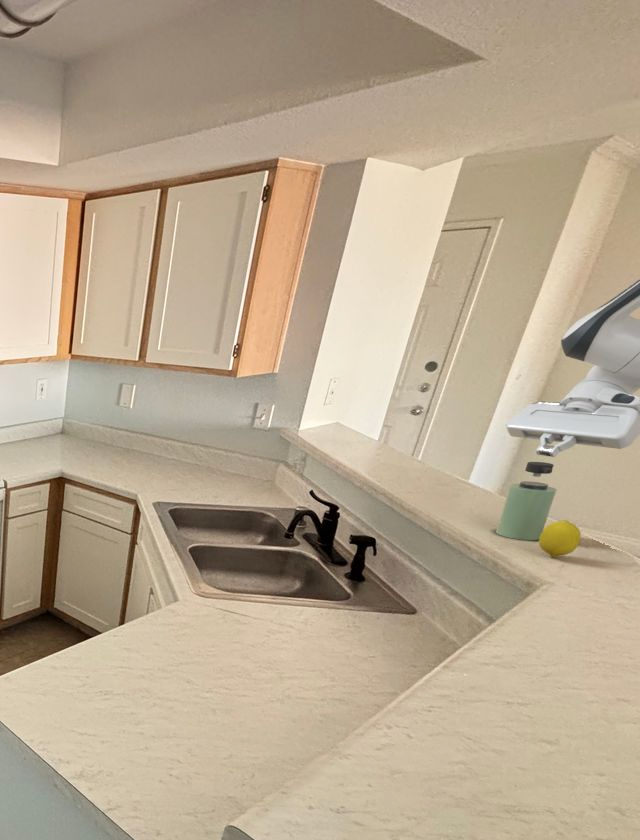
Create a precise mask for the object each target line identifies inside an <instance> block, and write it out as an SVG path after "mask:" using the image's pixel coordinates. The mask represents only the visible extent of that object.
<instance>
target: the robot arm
mask: <svg viewBox="0 0 640 840" xmlns="http://www.w3.org/2000/svg"><path fill="white" fill-rule="evenodd" d="M639 308H640V278H639V279H638V280H636V281H635V282H634V283H632V284H631V285H629V286H628V287H627V288H625V289H623V290H622V291H621V292H619V293H618V294H617V295H615V296H614V297H613V298H611V299H610V300H609V301H607V302H605V303H604V304H602V305H601V306H600V307H598V308H597V309H595V310H593V311H592V312H589V313H588V314H587V315H585V316H583V317H581V318H580V319H578V320H577V321H576V322H574V323H573V324H572V325H571V326H570V327H569V328H568V330H567V331H566V332H565V333H564V335H563V337H562V338H561V340H560V343H561V348H562V351H563V353H564V355H565V357H568V358H571V359H574V360H578V361H580V362H586V363H589V364H591V365H593V366H592V367H591V368H590V369H589V371H588V372H587V374H586V376H585V377H584V379H582V380H580V381H579V382H578V383H576V384H575V385H574V386H573V388H572V389H570V391H569V392H568V393H567V394H566V395H565V396H564V397H563V398H562V399H561V401H560V402H559V401H544V400H540V401H537V402H533V403H532V402H531V403H528V404H526V405H525V406H524V407H523V408H522V409H521V410H520V411H519V412H517V413H516V414H515V415H514V416H512V417H511V418H510V419H509V420H508V421H507V423H506V424H505V427H506V430H507V431H508V435H509V436H511V437H515V438H521V439H522V438H524V439H532V440H538V441H539V440H540V442H539V443H540V445H539V446H538V447H537V448H536V450H535V453H536V455H537V456H543V457H550V458H551V457H552V458H556V457H557V456H558V455H559V453H561V452H563V451H566V450H569V449H571V448H573V447H574V446H575V445H583V446H592V447H598V448H599V447H601V448H609V449H617V450H620V449H621V450H622V449H625V448H628V447H630V446H632V444H633V443H634V442H635V441H636V440H637V438H638V437H639V436H640V396H638V395H634V393H635V392H637V391H639V390H640V319H639V318H636V317H634V316H632V315H630V314H632V313H634V312H635V311H636V310H638V309H639ZM554 442H557V444H555V445H552V444H553V443H554Z"/></svg>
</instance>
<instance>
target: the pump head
mask: <svg viewBox="0 0 640 840" xmlns="http://www.w3.org/2000/svg"><path fill="white" fill-rule="evenodd" d="M553 468H554V464H553V463H550V462H545V461H544V462H543V461H528V462H527V463H526V466H525V470H524V471H525V472H527V473H531V474H532V477H536V478H538V477H539V478H541V476H542V475H543V474H544V475H548V474H552V472H553Z"/></svg>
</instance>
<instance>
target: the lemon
mask: <svg viewBox="0 0 640 840" xmlns="http://www.w3.org/2000/svg"><path fill="white" fill-rule="evenodd" d="M538 542H539V548H540V549H541V550H542V551H543V552H545V553H546V554H548V555H549V556H550V558H558V557H560V556H566V555H569V554H571V553H572V552H574V551H575V550H576V549H577V548H578V546H579V544H580V542H581V531H580V529H579V527H578V526H576V525H575V524H574V523H572V522H570V521H569V520H568V519H563V520H561V521H555V522H552V523H550V524H548V525H547V526H545V527H544V529H543V531H542V533H541V535H540V538H539V540H538Z"/></svg>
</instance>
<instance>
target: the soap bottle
mask: <svg viewBox="0 0 640 840" xmlns="http://www.w3.org/2000/svg"><path fill="white" fill-rule="evenodd" d="M556 493H557V489H556V488H554V487H553V486H549V484H548V483H544V482H538V481H529V480H526V481H525V480H524V481H520V482H519V483H518V482H516V483H511V484H510V485H509V488H508V491H507V494H506V498H505V501H504V504H503V507H502V511H501V514H500V517H499V521H498V523H497V527H496V530H495V533H496V534H497V535H499V536H502V537H505V538H510V539H514V540H521V541H539V538H540V535H541V533H542V531H543V530H544V529H545V527H546V526H545V525H546V523H547V519H548V517H549V514H550V510H551V507H552V504H553V501H554V499H555V496H556Z"/></svg>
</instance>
